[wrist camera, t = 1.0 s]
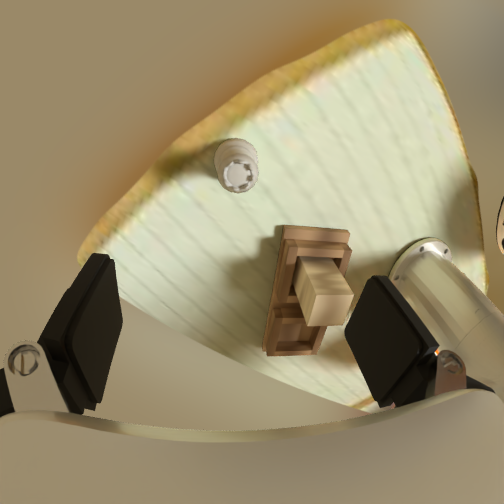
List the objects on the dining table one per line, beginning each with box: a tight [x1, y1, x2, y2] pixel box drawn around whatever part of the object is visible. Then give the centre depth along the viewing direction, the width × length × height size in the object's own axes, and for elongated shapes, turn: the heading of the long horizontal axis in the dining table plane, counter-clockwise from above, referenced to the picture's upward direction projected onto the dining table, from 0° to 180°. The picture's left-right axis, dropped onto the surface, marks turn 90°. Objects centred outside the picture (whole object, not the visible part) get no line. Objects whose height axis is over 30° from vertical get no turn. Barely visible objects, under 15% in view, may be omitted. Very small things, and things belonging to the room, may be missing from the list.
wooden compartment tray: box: [262, 225, 354, 356], centre depth 33 cm, size 8×20×9 cm, turn 174°
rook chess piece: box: [214, 138, 259, 193], centre depth 24 cm, size 4×4×8 cm
